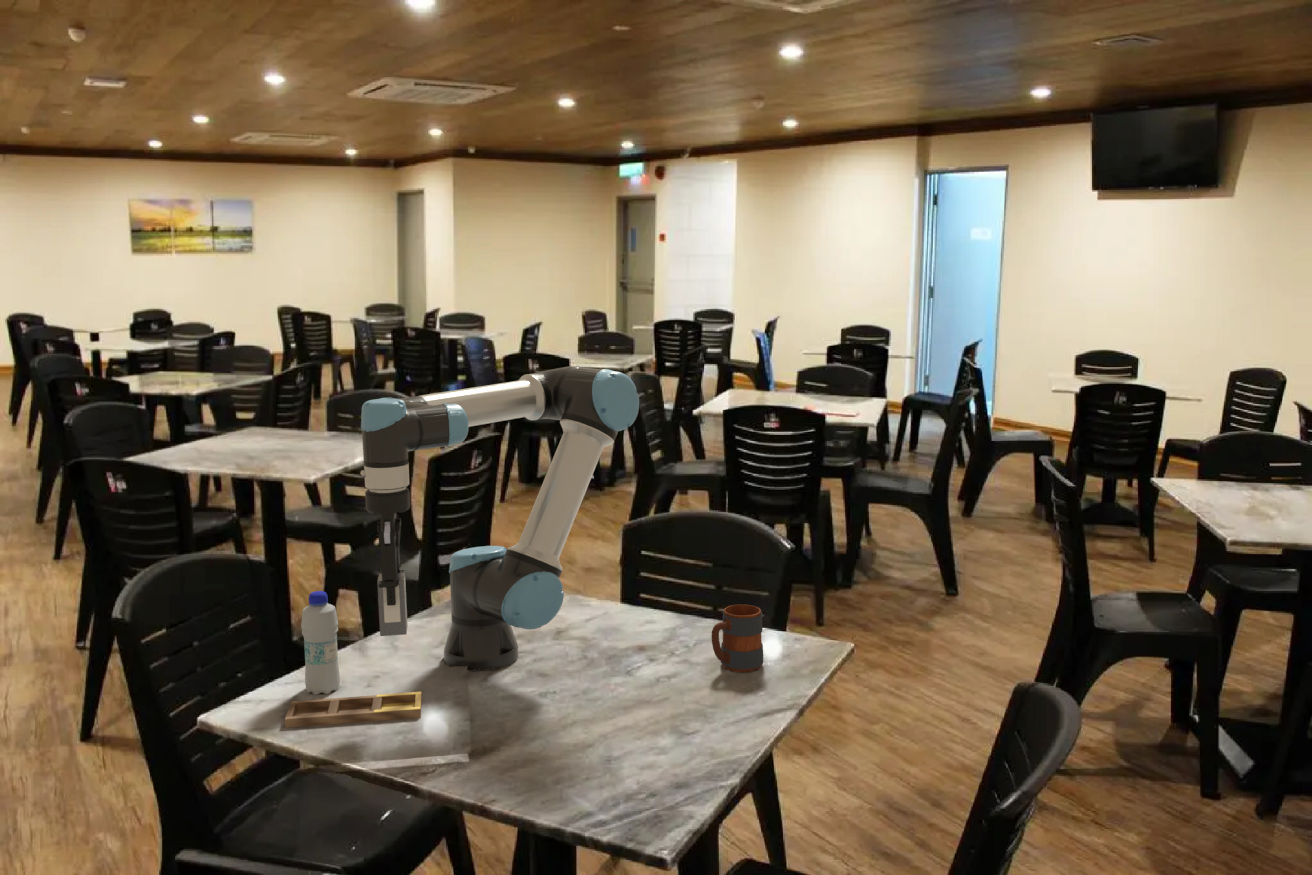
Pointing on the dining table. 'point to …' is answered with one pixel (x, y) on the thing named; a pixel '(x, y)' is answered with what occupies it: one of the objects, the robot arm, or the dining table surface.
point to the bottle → (320, 645)
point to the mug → (739, 638)
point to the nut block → (401, 626)
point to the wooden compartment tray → (354, 709)
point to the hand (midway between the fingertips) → (393, 616)
